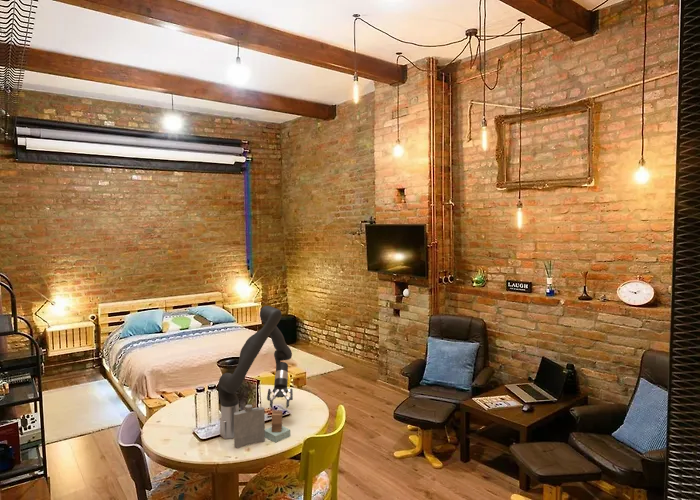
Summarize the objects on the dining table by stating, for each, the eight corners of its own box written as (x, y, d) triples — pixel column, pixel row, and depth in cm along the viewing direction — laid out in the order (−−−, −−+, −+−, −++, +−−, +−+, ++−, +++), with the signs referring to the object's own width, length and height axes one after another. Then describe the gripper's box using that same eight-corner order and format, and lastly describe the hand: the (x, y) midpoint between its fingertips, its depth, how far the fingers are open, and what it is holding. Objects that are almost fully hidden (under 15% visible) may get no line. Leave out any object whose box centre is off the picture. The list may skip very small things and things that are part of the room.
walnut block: (281, 431, 244) (281, 415, 244) (271, 431, 244) (271, 414, 244) (282, 427, 249) (282, 411, 249) (272, 427, 249) (273, 411, 249)
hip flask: (235, 448, 234) (234, 410, 232) (233, 445, 237) (232, 407, 236) (265, 441, 241) (265, 404, 240) (263, 438, 245) (262, 401, 244)
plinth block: (275, 443, 240) (275, 436, 240) (263, 437, 247) (263, 430, 246) (290, 436, 247) (290, 429, 247) (278, 431, 254) (278, 424, 254)
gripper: (268, 377, 266) (265, 404, 255) (293, 376, 266) (291, 404, 256) (269, 383, 271) (267, 410, 261) (293, 382, 272) (292, 409, 261)
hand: (279, 407), depth 258 cm, fingers open, 8 cm apart
